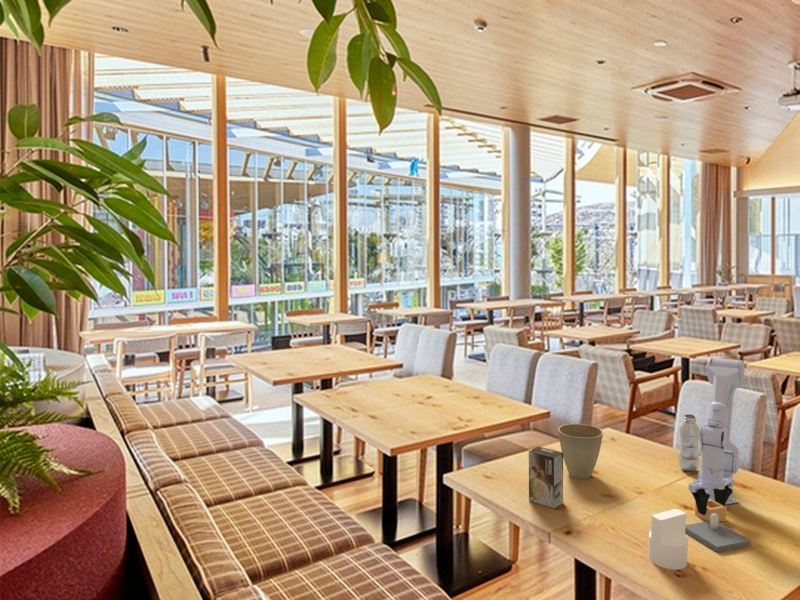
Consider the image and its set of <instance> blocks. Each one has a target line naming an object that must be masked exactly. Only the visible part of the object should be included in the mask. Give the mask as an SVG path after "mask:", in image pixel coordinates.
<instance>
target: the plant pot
mask: <svg viewBox="0 0 800 600" xmlns="http://www.w3.org/2000/svg"><path fill="white" fill-rule="evenodd" d="M557 431H558V432H557V433H558V439H559V444H560V445H559V446H560V448H561V452H563V462H564V464H565V467H566V469H567V471H568V474H569V476H570V477H572V478H575V479H580V480H584V479H589V478H591V476H592V474H593V472H594V470H595V468H596V467H595V466H596V465H597V462H598V459H599V455H600V451H601V447H602V446H601V445H602V442H603V436H604V431H603V430H602V429H601V428H599V427H597V426H593V425H590V424H583V423H568V424H562V425H560V426H559V427H558V428H557Z"/></svg>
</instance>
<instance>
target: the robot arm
mask: <svg viewBox="0 0 800 600" xmlns="http://www.w3.org/2000/svg"><path fill="white" fill-rule="evenodd" d="M706 375H707V378H708V381H709V384H710V385H712V398H711V399H712V402H711V403H709V404H708V405H706V410H705V416H704V422H703V426H701V427H700V437H699V445H700V446H699V447H700V451H701V452H700V453H701V455H700V457H701V458H700V470H698V472H697V473H698V474H697V480H695V481H693V482H690V483H688V488H687V489H688V491H690V492H691V494H692V496H693V499H694V501H695V502H696V505H697V509H698V513H700V514H702V515H705V514H706V510H707V502H708V499H712V500H714V501H716V502H717V503H719V504H721V505H723V506H725V507H726V505H729V504H730V505H732V504H735V503H739V502H740V501H739V500H738V499H736V498H734V497H733V487H734V486H735V479H734V474H735V475H736V474H737V473H739V469H740V468H739V467H740V450H739V448H738V447H737V446H736V445H735V444H734V443H732V442H731V429H732V416H733V405H734V396H735V392H736V390H737V389H741V388H743V385H744V381H745V380H744V379H745V378H744V377H745V362H744V361H743V360H741V359H740V360H736V359H726V358H716V357H709V358H708V359H707V362H706ZM729 451H730V452H729Z"/></svg>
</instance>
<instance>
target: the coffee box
mask: <svg viewBox="0 0 800 600" xmlns="http://www.w3.org/2000/svg"><path fill="white" fill-rule="evenodd" d="M528 501H529V502H532V503H536V504H539V505H542V506H545V507H548V508H552V509H556V508H558V507H560V505H562V504H563V503H564V458H563V452H562V451H558V450H555V449H551V448H550V449H549V448H546V447H542V446H535V447H533V448H532V449H530V450H529V451H528Z"/></svg>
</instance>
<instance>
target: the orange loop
mask: <svg viewBox="0 0 800 600" xmlns="http://www.w3.org/2000/svg"><path fill="white" fill-rule="evenodd" d="M694 506H695V508H694V515H695V516H697V517H698V518H700V519H702V520H704V522H705V521H710V518H711V514H712V513H716V514H717V515H718V516H719V523H720V522H724V521H727V506H726V505H725V506H723V505H721V504H719V503H717V502H716V501H714V500H712V499H708V502H707V510H706V514H705V515H702V514H700V513H698V509H697V505H696V501H695V504H694Z"/></svg>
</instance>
